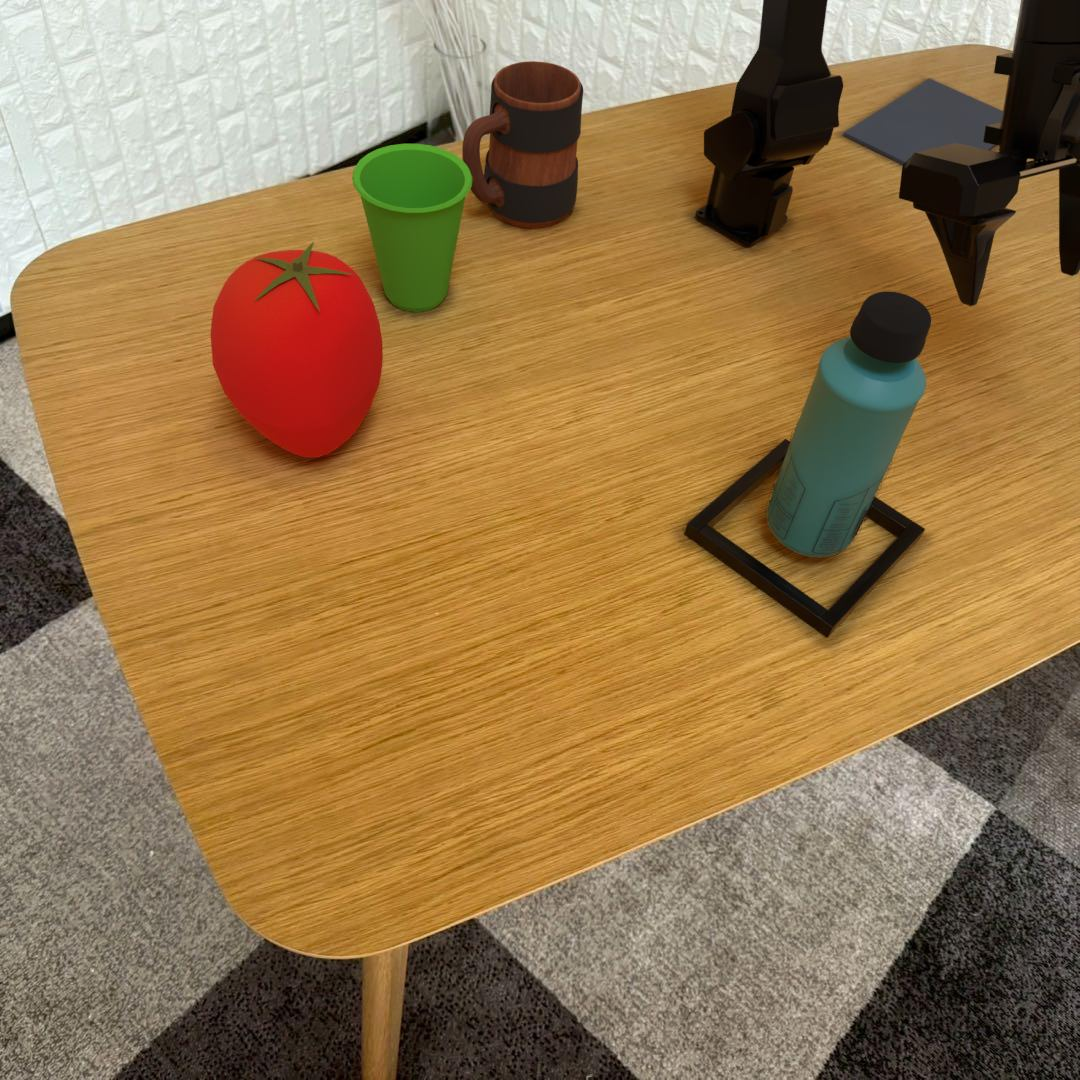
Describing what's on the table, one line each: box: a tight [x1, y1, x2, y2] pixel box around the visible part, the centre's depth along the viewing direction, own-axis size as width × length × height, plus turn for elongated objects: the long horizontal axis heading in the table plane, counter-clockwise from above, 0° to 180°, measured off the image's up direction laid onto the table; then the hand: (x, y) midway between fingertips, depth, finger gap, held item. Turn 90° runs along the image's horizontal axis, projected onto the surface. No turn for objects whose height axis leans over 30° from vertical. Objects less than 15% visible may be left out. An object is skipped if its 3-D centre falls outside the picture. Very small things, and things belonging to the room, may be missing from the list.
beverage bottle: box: [765, 290, 932, 558], centre depth 64 cm, size 6×7×20 cm
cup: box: [351, 143, 472, 313], centre depth 81 cm, size 9×9×11 cm
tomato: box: [209, 241, 384, 458], centre depth 70 cm, size 13×11×14 cm
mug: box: [461, 60, 584, 229], centre depth 89 cm, size 9×12×12 cm
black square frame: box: [683, 438, 926, 638], centre depth 71 cm, size 12×12×1 cm
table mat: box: [842, 77, 1003, 166], centre depth 109 cm, size 12×18×1 cm, turn 137°
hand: (1019, 288), depth 69 cm, fingers open, 9 cm apart
